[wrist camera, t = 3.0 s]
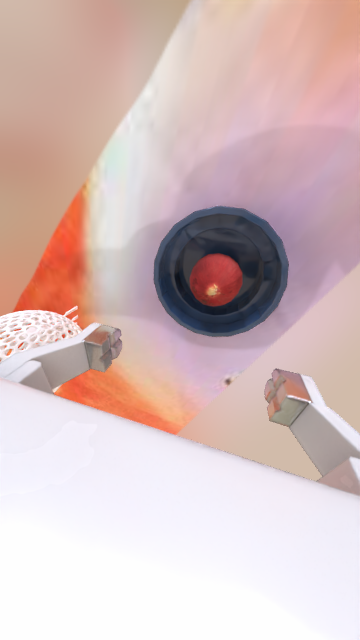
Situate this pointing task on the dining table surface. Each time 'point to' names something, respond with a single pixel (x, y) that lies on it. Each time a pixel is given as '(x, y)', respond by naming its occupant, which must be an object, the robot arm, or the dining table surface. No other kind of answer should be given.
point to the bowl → (232, 240)
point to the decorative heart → (34, 330)
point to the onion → (215, 279)
